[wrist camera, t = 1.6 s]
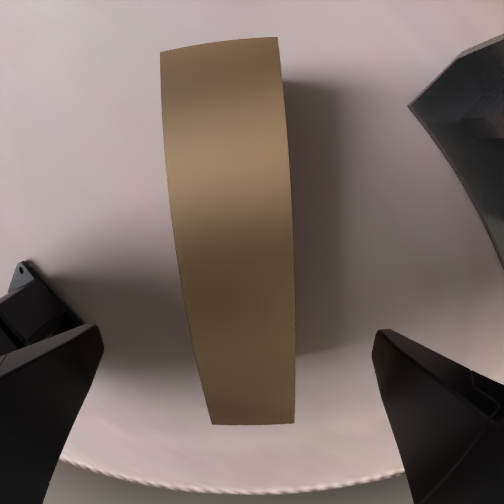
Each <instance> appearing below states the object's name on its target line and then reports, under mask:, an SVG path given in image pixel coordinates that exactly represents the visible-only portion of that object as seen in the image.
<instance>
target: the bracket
mask: <svg viewBox="0 0 504 504" xmlns="http://www.w3.org/2000/svg"><path fill="white" fill-rule="evenodd" d="M408 108H409V109H410V110H411V111H412V113H413V114H414V115H415V116H416V118H417V119H418V120H419V121H420V123H421V124H422V125H423V127H424V128H425V129H426V131H427V132H428V133H429V135H430V136H431V137H432V139H433V140H434V141H435V143H436V144H437V146H438V147H439V149H440V150H441V151H442V153H443V154H444V156H445V157H446V159H447V160H448V162H449V163H450V165H451V167H452V168H453V170H454V171H455V173H456V175H457V176H458V178H459V179H460V181H461V183H462V184H463V186H464V188H465V190H466V191H467V193H468V195H469V197H470V198H471V200H472V202H473V204H474V206H475V208H476V209H477V211H478V213H479V215H480V217H481V219H482V221H483V223H484V225H485V227H486V229H487V231H488V234H489V236H490V238H491V240H492V242H493V245H494V247H495V249H496V251H497V254H498V256H499V259H500V261H501V264H502V266H503V269H504V34H502V35H499V36H497V37H495V38H492V39H490V40H487V41H485V42H483V43H481V44H478V45H476V46H474V47H472V48H469V49H467V50H465V51H463V52H461V53H460V54H459V55H458V56H457V57H456V58H455V59H454V60H453V61H452V62H451V63H450V64H449V65H448V66H447V67H446V68H445V69H444V70H443V71H442V72H441V73H440V74H439V75H438V76H437V77H436V78H435V79H434V80H433V81H432V82H431V83H430V84H429V85H428V86H427V87H426V88H425V89H424V90H423V91H422V92H421V93H420V94H419V95H418V96H417V97H416V98H415V99H414V100H413V101H412V102H411V103H410V104H409V105H408Z"/></svg>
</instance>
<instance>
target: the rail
mask: <svg viewBox="0 0 504 504" xmlns="http://www.w3.org/2000/svg"><path fill="white" fill-rule="evenodd" d="M160 72H161V102H162V121H163V136H164V150H165V162H166V172H167V182H168V192H169V201H170V209H171V218H172V225H173V233H174V240H175V247H176V254H177V260H178V267H179V273H180V279H181V285H182V291H183V297H184V302H185V308H186V313H187V318H188V323H189V328H190V333H191V338H192V343H193V348H194V353H195V357H196V362H197V366H198V371H199V375H200V379H201V383H202V387H203V392H204V396H205V400H206V404H207V408H208V411H209V415H210V419H211V423H212V424H214V425H271V424H290V423H294V415H295V281H294V248H293V224H292V203H291V185H290V169H289V154H288V141H287V128H286V116H285V105H284V94H283V84H282V74H281V64H280V55H279V46H278V38H277V37H266V38H250V39H239V40H229V41H221V42H213V43H207V44H200V45H194V46H189V47H183V48H178V49H173V50H169V51H164V52H160Z"/></svg>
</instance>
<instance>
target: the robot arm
mask: <svg viewBox="0 0 504 504" xmlns="http://www.w3.org/2000/svg"><path fill="white" fill-rule="evenodd" d="M103 352H104V344H103V341H102V337H101V334H100V330H99V328H98V326H97V325H94V324H83V323H82V322H81V321H79V320H78V319H77V318H76V317H75V316H74V315H73V314H72V313H71V312H70V311H69V309H68V308H67V307H66V306H65V305H64V304H63V303H62V302H61V301H60V300H59V299H58V298H57V297H56V296H55V295H54V294H53V293H52V291H51V290H50V289H49V288H48V287H47V286H46V285H45V284H44V282H43V281H42V280H41V279H40V278H39V277H38V276H37V274H36V273H35V272H34V271H33V270H32V268H31V267H30V266H29V265H28V264H27V263H26V262H25V261H22V262H20V263H18V264H17V266H16V269H15V272H14V275H13V278H12V281H11V284H10V287H9V290H8V293H7V294H6V295H5V296H3V297H2V298H0V504H43V500H44V497H45V495H46V492H47V489H48V486H49V482H50V480H51V477H52V475H53V472H54V470H55V467H56V465H57V462H58V460H59V457H60V455H61V452H62V450H63V447H64V445H65V442H66V440H67V438H68V435H69V433H70V431H71V428H72V426H73V424H74V422H75V419H76V417H77V415H78V413H79V411H80V408H81V406H82V404H83V402H84V400H85V398H86V396H87V394H88V391H89V389H90V387H91V385H92V382H93V379H94V377H95V374H96V371H97V368H98V366H99V363H100V360H101V358H102V355H103ZM372 360H373V364H374V369H375V373H376V377H377V381H378V386H379V390H380V394H381V398H382V401H383V404H384V407H385V410H386V413H387V416H388V419H389V422H390V425H391V428H392V431H393V434H394V437H395V440H396V443H397V446H398V449H399V453H400V456H401V459H402V462H403V466H404V469H405V473H406V476H407V480H408V483H409V487H410V490H411V494H412V498H413V502H414V504H504V385H503V384H500V383H498V382H496V381H493V380H491V379H489V378H487V377H485V376H483V375H480V374H478V373H476V372H474V371H470V369H468V368H466V367H464V366H462V365H460V364H458V363H456V362H454V361H452V360H450V359H448V358H446V357H444V356H442V355H440V354H438V353H436V352H434V351H432V350H431V349H429V348H427V347H425V346H423V345H421V344H419V343H417V342H415V341H413V340H411V339H409V338H407V337H405V336H403V335H401V334H399V333H397V332H395V331H393V330H391V329H382V330H378V331H377V333H376V336H375V341H374V345H373V350H372Z"/></svg>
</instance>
